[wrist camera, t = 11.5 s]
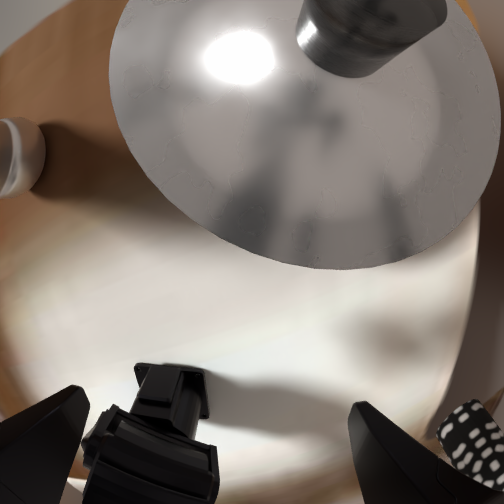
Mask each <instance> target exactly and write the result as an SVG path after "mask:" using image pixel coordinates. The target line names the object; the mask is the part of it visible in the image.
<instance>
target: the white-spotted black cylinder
mask: <svg viewBox="0 0 504 504" xmlns="http://www.w3.org/2000/svg"><path fill="white" fill-rule="evenodd" d="M436 436H437V438H438V440H439V441H440V443H441V445H442V447H443V449H444V450H445V452H446V454H447V456H448V458H449V460H450V462H451V463H452V465H453V467H454V468H455V469H457V470H458V471H460V472H462V473H463V474H465V475H467V476H469V477H471V478H472V479H474V480H476V481H478V482H480V483H482V484H484V485H486V486H489V487H491V488H493V489H495V490H499V491H504V433H503V432H502V431H501V429H500V428H499V426H498V425H497V424H496V423H495V421H494V420H493V418H492V417H491V416H490V414H489V413H488V412H487V410H486V409H485V408H484V407H483V405H482V404H481V403H480V401H479V400H477V399H473V400H470V401H468V402H466V403H465V404H463V405H461V406H460V407H459V408H458V409H456V410H455V411H454V412H452V413H451V414H450V415H449V416H448V417H447V418H446V419H445V420H444V421H443V423H442V424H441V425H440V427H439V428H438V430H437V433H436Z"/></svg>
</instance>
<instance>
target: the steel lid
mask: <svg viewBox="0 0 504 504" xmlns="http://www.w3.org/2000/svg"><path fill="white" fill-rule="evenodd" d="M109 83H110V92H111V101H112V104H113V108H114V112H115V115H116V119H117V122H118V126H119V128H120V130H121V132H122V134H123V137H124V139H125V141H126V143H127V145H128V147H129V149H130V151H131V153H132V155H133V156H134V158H135V159H136V161H137V162H138V164H139V165H140V167H141V168H142V169H143V171H144V172H145V174H146V175H147V177H148V178H149V179H150V180H151V181H152V182H153V183H154V184H155V186H156V187H157V188H158V189H159V190H160V191H161V192H162V193H163V194H164V196H165V197H166V198H167V199H168V200H169V201H170V202H172V203H173V204H174V205H175V206H176V207H178V208H179V209H180V210H181V211H182V212H184V213H185V214H186V215H187V216H188V217H190V218H191V219H192V220H193V221H195V222H196V223H198V224H199V225H201V226H203V227H204V228H206V229H207V230H209V231H210V232H212V233H214V234H215V235H217V236H218V237H220V238H221V239H224V240H226V241H228V242H230V243H232V244H234V245H236V246H238V247H241V248H243V249H245V250H247V251H249V252H251V253H254V254H257V255H260V256H263V257H267V258H270V259H273V260H276V261H279V262H282V263H287V264H292V265H298V266H303V267H309V268H314V269H335V270H349V269H360V268H371V267H376V266H380V265H384V264H388V263H393V262H397V261H400V260H402V259H405V258H407V257H410V256H412V255H414V254H417V253H419V252H421V251H423V250H425V249H427V248H428V247H430V246H432V245H433V244H435V243H437V242H438V241H440V240H441V239H443V238H444V237H445V236H446V235H447V234H449V233H450V232H451V231H452V230H453V229H455V228H456V227H457V226H458V225H459V224H460V223H461V222H462V220H463V219H464V218H465V217H466V216H467V215H468V214H469V212H470V211H471V210H472V209H473V207H474V206H475V204H476V203H477V201H478V200H479V198H480V196H481V195H482V193H483V191H484V189H485V187H486V185H487V183H488V180H489V178H490V176H491V174H492V171H493V167H494V164H495V160H496V156H497V153H498V146H499V139H500V125H501V121H500V119H501V112H500V102H499V94H498V88H497V84H496V80H495V76H494V72H493V69H492V66H491V63H490V60H489V57H488V55H487V52H486V50H485V48H484V46H483V43H482V41H481V39H480V37H479V35H478V33H477V32H476V30H475V28H474V27H473V25H472V23H471V22H470V20H469V19H468V17H467V16H466V14H465V13H464V12H463V10H462V9H461V8H460V6H459V5H458V4H457V2H456V1H455V0H129V2H128V4H127V5H126V7H125V9H124V11H123V13H122V15H121V18H120V20H119V22H118V25H117V27H116V30H115V34H114V38H113V42H112V47H111V51H110V63H109Z"/></svg>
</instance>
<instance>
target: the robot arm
mask: <svg viewBox="0 0 504 504" xmlns="http://www.w3.org/2000/svg"><path fill="white" fill-rule="evenodd" d="M139 368H140V369H139ZM134 371H135V375H136V378H137V382H138V385H139V388H140V389H139V391H138V393H137V397H136V399H135V401H134V403H133V405H132V407H131V410H130V412H129V413H128V412H126V411H124V410H122V409H120V408H119V407H118V406H116V405H114V404H113V405H112V406H111V408H110V409H109V410H108V409H107V410H106V412H102V413H101V415H100V417H99V419H98V421H97V422H96V424H95V426H94V427H93V428H92V429H91V430H90V431H89V432H88V433H87V434H86V436H85V437H84V438H83V439H82V435H83V432H84V428H85V424H86V421H87V417H88V414H89V410H90V402H89V400H88V398H87V396H86V394H85V391H84V389H83V388H82V387H80V386H77V385H70V386H68V387H66V388H64V389H63V390H61V391H59V392H57V393H55V394H53V395H52V396H50V397H48V398H46V399H44V400H42V401H40V402H38V403H37V404H35V405H33V406H31V407H29V408H27V409H25V410H23V411H21V412H19V413H18V414H16V415H14V416H12V417H10V418H8V419H6V420H4V421H2V423H1V422H0V504H59V503H60V500H61V496H62V493H63V490H64V487H65V484H66V481H67V478H68V475H69V472H70V469H71V467H72V464H73V461H74V458H75V456H76V453H77V450H78V448H79V445H80V442H81V446H82V448H83V451H84V455H83V457H84V460H83V467H85V468H86V469H88V470H90V473H89V476H88V479H87V482H86V485H85V488H84V491H83V501H82V504H214V503H215V501H216V498H217V495H218V491H219V485H220V476H219V466H218V456H217V446H214V445H207V444H204V443H201V442H198V441H195V435H196V430H197V425H198V420H199V419H208V418H209V415H210V412H209V405H208V398H207V390H206V382H205V374H204V372H203V371H202V370H201V369H192V368H180V367H169V366H159V365H151V364H143V363H137V364H136V365H135V366H134ZM197 374H200V375H197ZM348 429H349V436H350V442H351V449H352V456H353V462H354V466H355V470H356V473H357V477H358V480H359V484H360V488H361V491H362V495H363V499H364V503H365V504H504V491H499V490H495V489H493V488H491V487H489V486H486V485H484V484H482V483H480V482H478V481H476V480H474V479H472V478H471V477H469V476H467V475H465V474H463V473H462V472H460V471H458V470H457V469H455V468H454V467H452V466H451V465H449V464H448V463H446V462H445V461H443V460H442V459H441V458H438V456H436V455H435V454H434V453H432V452H431V451H430V450H428V449H427V448H426V447H424V446H423V445H422V444H420V443H419V442H418V441H417V440H415V439H414V438H413V437H411V436H410V435H409V434H407V433H406V432H405V431H404V430H402V429H401V428H400V427H398V426H397V425H396V424H395V423H393V422H392V421H391V420H390V419H388V418H387V417H386V416H385V415H383V414H382V413H381V412H380V411H378V410H377V409H376V408H375V407H373V406H372V405H371V404H370V403H368V402H367V401H360V402H355V403H354V404H353V405H352V408H351V411H350V414H349V417H348ZM81 439H82V441H81Z"/></svg>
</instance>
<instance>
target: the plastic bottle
mask: <svg viewBox="0 0 504 504" xmlns="http://www.w3.org/2000/svg"><path fill="white" fill-rule="evenodd" d="M45 156H46V146H45V140H44V136H43V134H42V132H41V130H40V128H39V127H38V126H37V124H35V123H34V122H32V121H30V120H28V119H25V118H22V117H13V118H5V119H0V198H14V197H17V196H19V195H21V194H23V193H25V192H27V191H28V190H30V189H31V188H32V187H33V185H34V184H35V182H36V181H37V180H38V178H39V176H40V174H41V172H42V170H43V167H44V162H45Z"/></svg>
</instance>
